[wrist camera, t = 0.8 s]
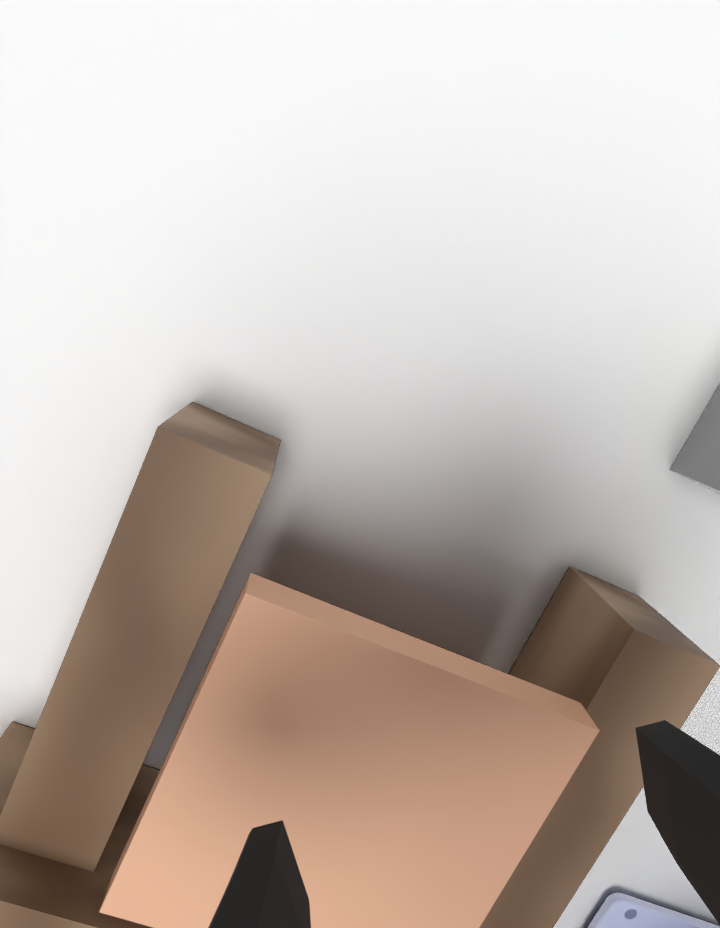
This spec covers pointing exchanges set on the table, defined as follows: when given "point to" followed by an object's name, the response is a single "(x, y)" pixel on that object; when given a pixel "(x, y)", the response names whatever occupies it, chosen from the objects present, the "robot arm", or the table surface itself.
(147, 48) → the table surface
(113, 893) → the trapdoor
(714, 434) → the stone
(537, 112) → the table surface
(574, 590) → the frame
